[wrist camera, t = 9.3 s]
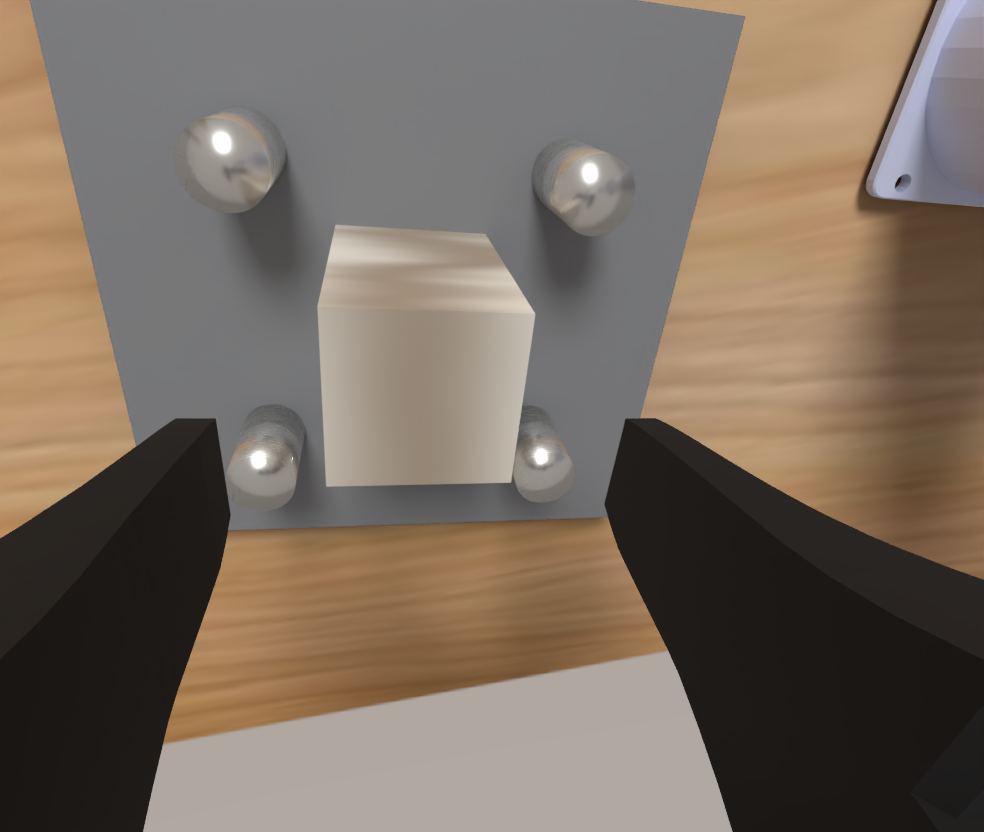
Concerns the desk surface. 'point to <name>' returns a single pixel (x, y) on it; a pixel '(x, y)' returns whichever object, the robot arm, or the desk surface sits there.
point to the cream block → (420, 358)
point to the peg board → (383, 211)
